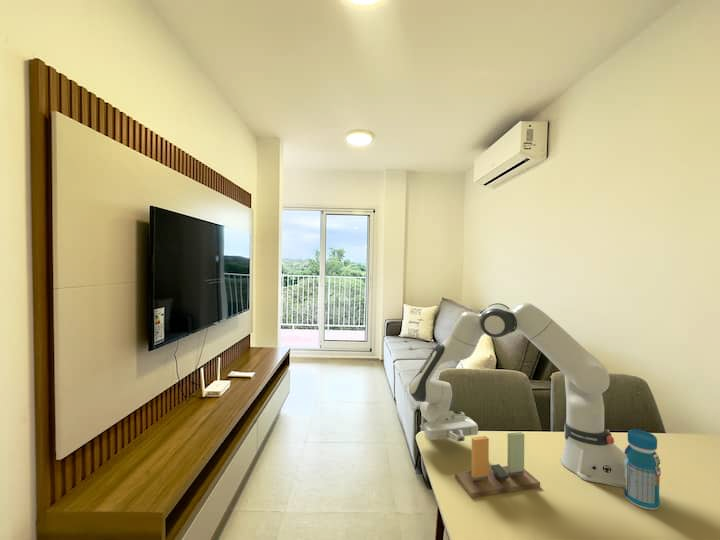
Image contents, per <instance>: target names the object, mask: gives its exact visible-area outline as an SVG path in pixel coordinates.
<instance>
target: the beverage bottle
mask: <svg viewBox="0 0 720 540" xmlns="http://www.w3.org/2000/svg"><path fill="white" fill-rule="evenodd" d="M627 442H628V445H627V446H626V447H625V450H624V453H625V456H626V457H625V458H624V465H625V488H623V489H624V492H623V494H624V497H625V499H626V500H627V501H629V502H630V503H631V504H633V505H634V506H636V507H639V508H641V509H645V510H649V511H654V510H655V511H656V510H658V509H659V508H660V505H661V502H660V478H661V474H662V471H661V468H660V464H661V459H660V457H659V455H658V453H657V452H656V450H657V449H658V437H656V435H654V434H653V433H650V432H648V431H645V430H640V429H629V430H628V431H627Z"/></svg>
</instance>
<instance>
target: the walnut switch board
mask: <svg viewBox="0 0 720 540" xmlns="http://www.w3.org/2000/svg"><path fill="white" fill-rule="evenodd" d="M507 466H508V465H507ZM507 466H506V465H505V466H501V467H502V468H503V469H504V470H505V472H506V473H507V474H508V470H507ZM472 477H473V476H472V470H468V471H463V472H455V473H454V478H455V480H456V481H457V482H458V483H459V485H460V486H461V487H462V488H463V490H464V491H465V492H466V494H467V495H468V496H469V497H470V498H471V499H472V498H480V497H486V496H492V495H498V494H506V493H511V492H512V493H513V492H518V491H524V490H530V489H536V488H540V487H541V482H540V481H539V480H538V479H536V478H535V477H534V476H533V474H531V473H530V472H529V471H527V470H526V469H525V468H524V474H517V475H511V476H509V478H508V479H501V480H500V479H499V478H495V477H494V475H493V470H492V469H491V467H490V468H489V469H488V479H483V480H476V481H472Z"/></svg>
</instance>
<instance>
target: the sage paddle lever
mask: <svg viewBox="0 0 720 540" xmlns="http://www.w3.org/2000/svg"><path fill="white" fill-rule="evenodd" d="M524 469H525V434H524V432H522V431H516V432H507V470H508V475H509V476H511V475H517V474H524Z"/></svg>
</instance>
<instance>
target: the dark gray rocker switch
mask: <svg viewBox="0 0 720 540" xmlns="http://www.w3.org/2000/svg"><path fill="white" fill-rule="evenodd" d="M502 467H503V466H502V465H501V464H500V463H498V464H491V465H490V468H491V469H492V470H493V475H494V477H495V478H499V479H500V480H501V479H508V478H509V475H508V474H507V473H506V472H505V470H504V469H503V468H502Z"/></svg>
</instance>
